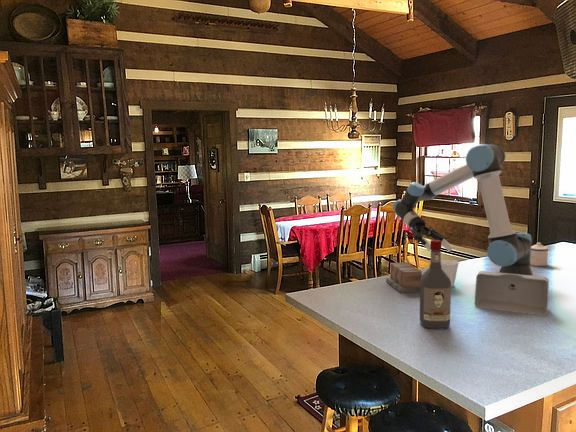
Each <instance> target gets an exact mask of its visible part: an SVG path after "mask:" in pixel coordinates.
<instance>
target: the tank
mask: <svg viewBox="0 0 576 432" xmlns="http://www.w3.org/2000/svg"><path fill="white" fill-rule="evenodd" d="M549 282H550V280H549V278H548V277H546V276H541V275H533V276H531V275H520V274H509V273H499V272H497V271H487V270H486V271H485V270H481V271H479V272H478V273H477V274H476V279H475V289H474V290H475V291H474V306H475V307H476V308H482V309H490V310H498V311H504V310H505V312H513V313H522V314H527V313H528V314H529V315H535V314H537V315H538V316H543V315H544V316H546V315H547V314H548V307H549V306H548V305H549V304H548V303H549V302H548V301H549V284H550V283H549ZM511 284H513V285H511ZM512 286H513V287H512Z"/></svg>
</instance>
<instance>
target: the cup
mask: <svg viewBox="0 0 576 432" xmlns="http://www.w3.org/2000/svg"><path fill="white" fill-rule="evenodd" d="M459 265H460V263H459V261H457V260H454V259H453V260H452V259H441V269H442V270H443V271H444V272H445V274H446V275H447V276H448V277H449V279H450V281H451V288H452V287H454V286H455V282H456V277H457V272H458V267H459Z"/></svg>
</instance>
